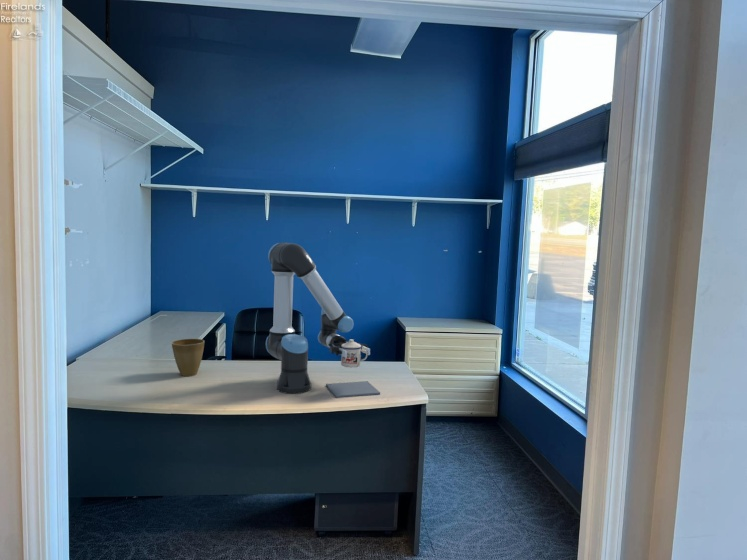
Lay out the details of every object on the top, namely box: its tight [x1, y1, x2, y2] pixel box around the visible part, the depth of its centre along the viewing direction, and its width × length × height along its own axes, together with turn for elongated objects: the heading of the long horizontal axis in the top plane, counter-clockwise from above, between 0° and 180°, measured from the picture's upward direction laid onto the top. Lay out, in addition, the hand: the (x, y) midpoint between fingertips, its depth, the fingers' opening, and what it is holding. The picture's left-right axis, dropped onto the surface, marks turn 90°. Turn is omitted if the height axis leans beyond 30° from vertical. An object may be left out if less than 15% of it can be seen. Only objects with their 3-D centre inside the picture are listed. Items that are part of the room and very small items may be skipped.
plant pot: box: [171, 338, 205, 377], centre depth 253 cm, size 15×15×16 cm
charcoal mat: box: [325, 380, 381, 399], centre depth 237 cm, size 20×18×1 cm
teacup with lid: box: [340, 338, 369, 368], centre depth 235 cm, size 12×9×12 cm
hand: (357, 353), depth 232 cm, fingers closed on teacup with lid, 11 cm apart
